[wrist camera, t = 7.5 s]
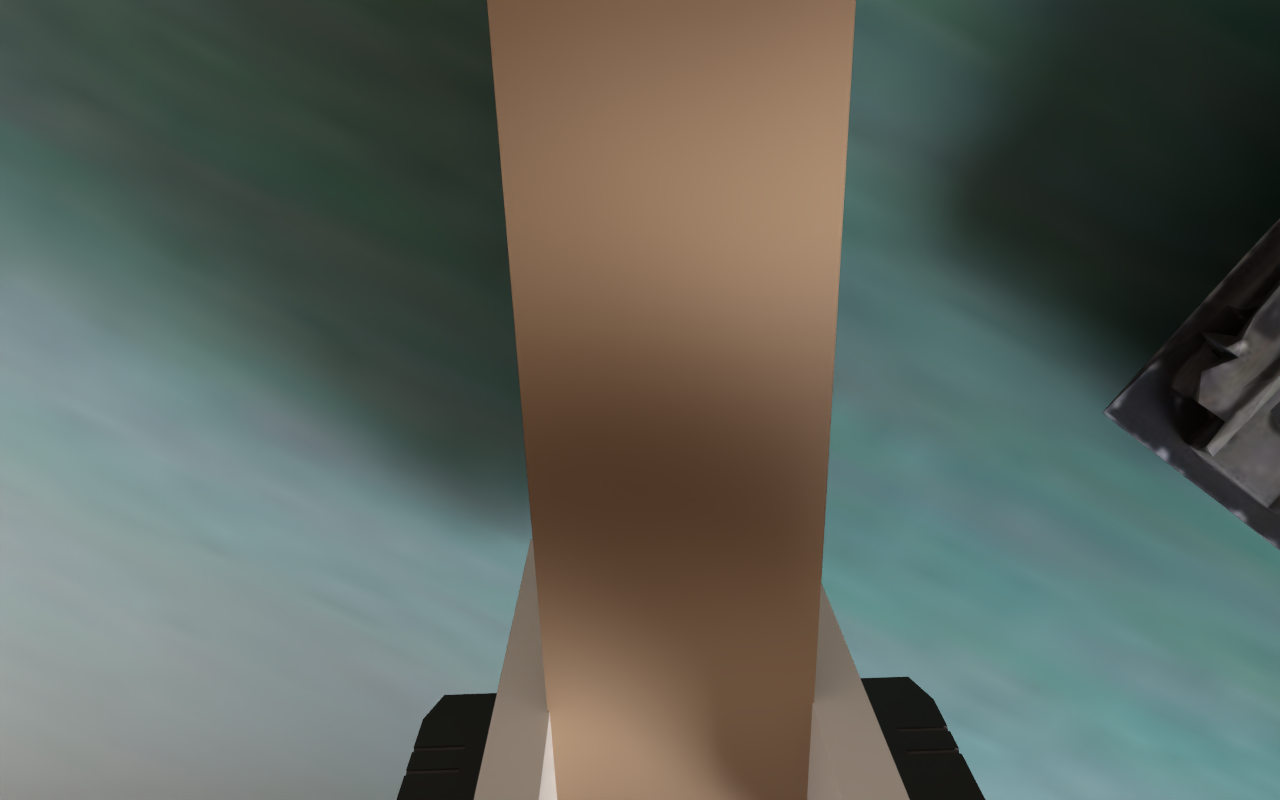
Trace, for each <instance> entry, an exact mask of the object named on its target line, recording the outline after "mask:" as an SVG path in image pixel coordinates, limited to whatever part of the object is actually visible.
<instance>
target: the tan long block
mask: <svg viewBox="0 0 1280 800" xmlns="http://www.w3.org/2000/svg"><path fill="white" fill-rule="evenodd" d="M855 5H856V0H487V7H488V18H489V30H490V42H491V54H492V65H493V77H494V89H495V101H496V112H497V124H498V136H499V148H500V160H501V171H502V183H503V195H504V207H505V218H506V230H507V242H508V254H509V265H510V277H511V289H512V301H513V312H514V324H515V336H516V348H517V360H518V371H519V383H520V395H521V407H522V418H523V430H524V442H525V454H526V465H527V477H528V489H529V501H530V513H531V524H532V536H533V548H534V560H535V571H536V583H537V595H538V607H539V618H540V630H541V642H542V654H543V666H544V677H545V689H546V701H547V712H550V722H551V733H552V745H553V757H554V769H555V780H556V792H557V800H807V791H808V773H809V756H810V738H811V721H812V703H814V694H815V677H816V660H817V644H818V627H819V610H820V593H821V576H822V560H823V543H824V526H825V509H826V492H827V476H828V459H829V442H830V425H831V408H832V392H833V375H834V358H835V341H836V324H837V308H838V291H839V274H840V257H841V240H842V224H843V207H844V190H845V173H846V156H847V140H848V123H849V106H850V89H851V72H852V56H853V39H854V22H855Z"/></svg>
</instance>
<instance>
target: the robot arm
mask: <svg viewBox="0 0 1280 800" xmlns="http://www.w3.org/2000/svg"><path fill="white" fill-rule="evenodd" d="M397 800H557V792H556V780H555V769H554V757H553V745H552V733H551V722H550V712H547V701H546V689H545V677H544V666H543V654H542V642H541V630H540V618H539V607H538V595H537V583H536V571H535V560H534V548H533V539H531V540H530V545H529V550H528V554H527V559H526V563H525V568H524V572H523V577H522V581H521V586H520V591H519V595H518V600H517V604H516V609H515V613H514V618H513V623H512V627H511V632H510V636H509V641H508V645H507V650H506V654H505V659H504V664H503V668H502V673H501V677H500V682H499V686H498V691H497V693H489V694H461V695H444V696H443V697H442V698H441V700H440V701H439V702H438V703H437V704H436V705H435V706H434V708H433V709H432V710H431V711H430V712H429V713H428V714H427V716H426V717H425V718H424V719H423V721H422V724H421V727H420V730H419V733H418V736H417V739H416V742H415V745H414V752H412V754H411V758H410V761H409V764H408V767H407V773H406V776H404V779H403V782H402V785H401V788H400V791H399V794H398V797H397ZM807 800H985V798H984V796H983V794H982V792H981V790H980V789H979V787H978V785H977V783H976V781H975V779H974V777H973V775H972V773H971V771H970V769H969V767H968V765H967V763H966V761H965V759H964V758H963V756H962V754H959V748H958V746H957V744H956V742H955V740H954V738H953V736H952V734H951V732H950V731H948V729H947V725H946V723H945V721H944V719H943V717H942V715H941V713H940V711H939V709H938V707H937V705H936V703H935V701H934V699H932V698H931V697H930V696H929V695H928V694H927V693H926V692H925V691H923V690H922V689H921V688H920V687H919V686H918V685H917V684H916V683H914V682H913V681H912V680H911V679H910V678H909V677H888V678H860V677H859V674H858V672H857V669H856V667H855V664H854V662H853V659H852V657H851V654H850V652H849V650H848V647H847V645H846V642H845V640H844V637H843V635H842V632H841V630H840V627H839V625H838V623H837V620H836V618H835V615H834V613H833V610H832V608H831V605H830V603H829V600H828V598H827V596H826V593H825V591H824V588H823V586H822V583H821V593H820V610H819V627H818V644H817V660H816V677H815V694H814V703H812V721H811V738H810V756H809V773H808V791H807Z"/></svg>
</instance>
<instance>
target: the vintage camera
mask: <svg viewBox="0 0 1280 800" xmlns="http://www.w3.org/2000/svg"><path fill="white" fill-rule="evenodd" d="M1102 413H1103V414H1104V415H1106V416H1107V417H1108V418H1109V419H1111V420H1112V421H1113V422H1115V423H1116V424H1117V425H1119V426H1120V427H1121V428H1122V429H1124V430H1125V431H1126V432H1128V433H1129V434H1130V435H1131V436H1133V437H1134V438H1135V439H1137V440H1138V441H1139V442H1141V443H1142V444H1143V445H1144V446H1146V447H1147V448H1148V449H1150V450H1151V451H1152V452H1154V453H1155V454H1156V455H1157V456H1159V457H1160V458H1161V459H1163V460H1164V461H1165V462H1167V463H1168V464H1169V465H1170V466H1172V467H1173V468H1174V469H1176V470H1177V471H1178V472H1180V473H1181V474H1182V475H1184V476H1185V477H1186V478H1187V479H1189V480H1190V481H1191V482H1193V483H1194V484H1195V485H1197V486H1198V487H1199V488H1201V489H1202V490H1203V491H1204V492H1206V493H1207V494H1208V495H1210V496H1211V497H1212V498H1214V499H1215V500H1216V501H1218V502H1219V503H1220V504H1221V505H1223V506H1224V507H1225V508H1226V509H1228V510H1229V511H1230V512H1232V513H1233V514H1234V515H1235V516H1237V517H1238V518H1239V519H1240V520H1242V521H1243V522H1244V523H1245V524H1247V525H1248V526H1249V527H1251V528H1252V529H1253V530H1254V531H1256V532H1257V533H1258V534H1259V535H1261V536H1262V537H1263V538H1265V539H1266V540H1267V541H1268V542H1270V543H1271V544H1272V545H1274V546H1275V547H1276V548H1277V549H1279V550H1280V218H1279V220H1278V221H1277V222H1276V223H1275V224H1274V225H1273V226H1272V227H1271V228H1270V229H1269V230H1268V231H1267V232H1266V233H1265V235H1264V236H1263V237H1262V238H1261V239H1260V240H1259V241H1258V242H1257V243H1256V244H1255V245H1254V246H1253V247H1252V249H1251V250H1250V251H1249V252H1248V253H1247V254H1246V255H1245V256H1244V257H1243V258H1242V259H1241V260H1240V262H1239V263H1238V264H1237V265H1236V266H1235V267H1234V268H1233V269H1232V270H1231V271H1230V272H1229V274H1228V275H1227V276H1226V277H1225V278H1224V279H1223V280H1222V281H1221V282H1220V283H1219V284H1218V286H1217V287H1216V288H1215V289H1214V290H1213V291H1212V292H1211V293H1210V294H1209V295H1208V297H1207V298H1206V299H1205V300H1204V301H1203V302H1202V303H1201V304H1200V305H1199V306H1198V307H1197V309H1196V310H1195V311H1194V312H1193V313H1192V314H1191V315H1190V316H1189V317H1188V318H1187V320H1186V321H1185V322H1184V323H1183V324H1182V325H1181V326H1180V327H1179V328H1178V329H1177V331H1176V332H1175V333H1174V334H1173V335H1172V336H1171V337H1170V338H1169V339H1168V340H1167V342H1166V343H1165V344H1164V345H1163V346H1162V347H1161V348H1160V349H1159V350H1158V351H1157V353H1156V354H1155V355H1154V356H1153V357H1152V358H1151V359H1150V360H1149V361H1148V363H1147V364H1146V365H1145V366H1144V367H1143V368H1142V369H1141V370H1140V371H1139V372H1138V374H1137V375H1136V376H1135V377H1134V378H1133V379H1132V380H1131V381H1130V382H1129V384H1128V385H1127V386H1126V387H1125V388H1124V389H1123V390H1122V391H1121V392H1120V394H1119V395H1118V396H1117V397H1116V398H1115V399H1114V400H1113V401H1112V402H1111V404H1110V405H1109V406H1108V407H1107V408H1106V409H1105V410H1104V411H1103V412H1102Z"/></svg>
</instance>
